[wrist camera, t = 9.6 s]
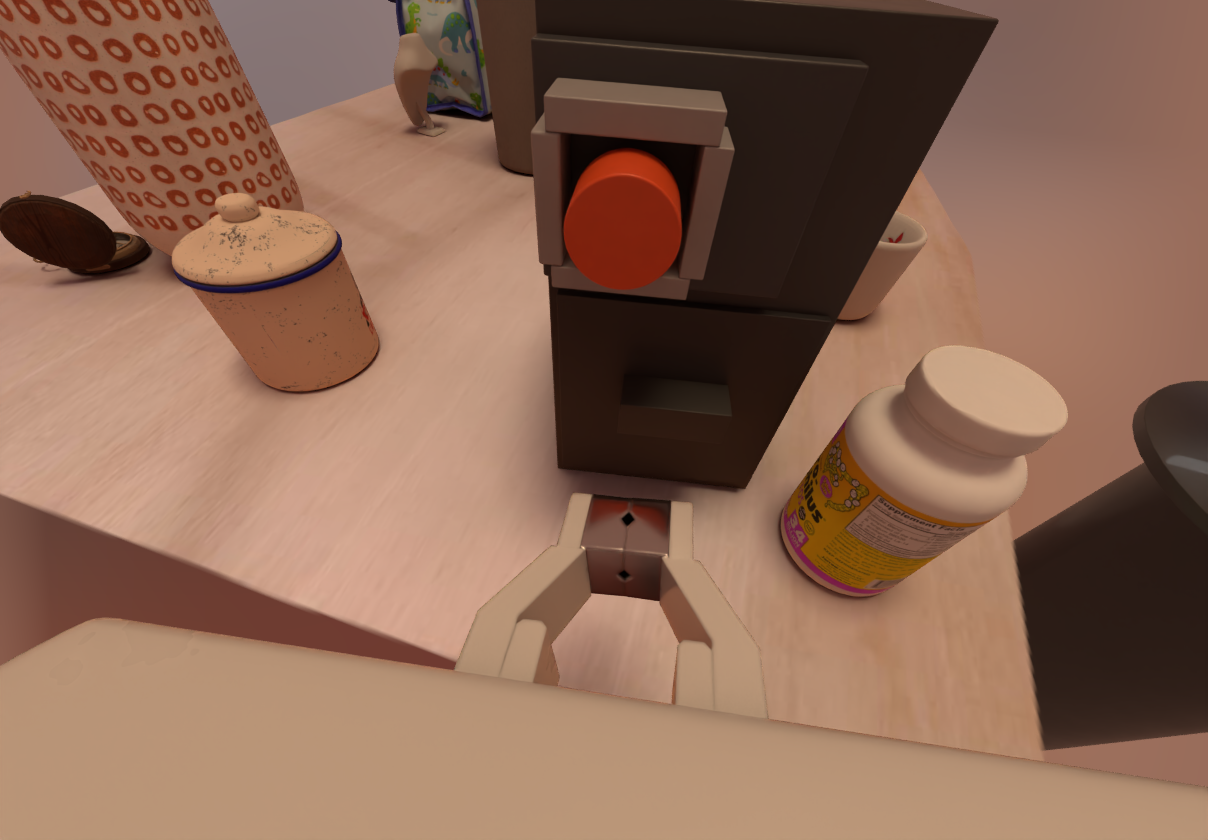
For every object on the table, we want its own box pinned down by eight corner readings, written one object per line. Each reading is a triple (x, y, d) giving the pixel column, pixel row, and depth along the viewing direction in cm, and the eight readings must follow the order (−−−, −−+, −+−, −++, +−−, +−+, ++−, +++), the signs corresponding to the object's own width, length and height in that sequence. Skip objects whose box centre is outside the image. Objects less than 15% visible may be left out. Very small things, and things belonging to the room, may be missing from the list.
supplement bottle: (791, 477, 28) (903, 308, 19) (900, 525, 26) (1088, 365, 17) (762, 562, 24) (885, 404, 15) (888, 626, 22) (1125, 493, 13)
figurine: (428, 123, 73) (408, 27, 64) (456, 128, 71) (439, 31, 63) (399, 135, 68) (372, 33, 59) (428, 141, 67) (405, 38, 58)
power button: (670, 262, 14) (690, 152, 12) (671, 296, 13) (693, 180, 10) (573, 252, 14) (573, 141, 12) (564, 285, 13) (561, 168, 11)
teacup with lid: (408, 343, 35) (353, 191, 26) (308, 414, 30) (197, 252, 21) (307, 297, 39) (229, 149, 30) (201, 353, 33) (68, 193, 24)
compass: (157, 238, 44) (97, 158, 38) (141, 277, 39) (71, 192, 34) (53, 251, 41) (-26, 167, 36) (24, 295, 37) (-72, 206, 31)
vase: (180, 229, 45) (-162, -272, 24) (322, 214, 49) (132, -230, 28) (148, 298, 37) (-408, -361, 16) (320, 274, 41) (51, -285, 20)
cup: (766, 270, 46) (795, 190, 40) (834, 266, 47) (871, 188, 41) (817, 333, 39) (862, 247, 33) (895, 326, 40) (951, 243, 34)
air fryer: (725, 348, 37) (848, -21, 20) (751, 529, 26) (1068, 36, 9) (585, 334, 37) (593, -41, 21) (549, 506, 26) (506, -9, 9)
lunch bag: (460, 84, 90) (428, -114, 71) (536, 93, 89) (525, -108, 69) (404, 112, 76) (344, -128, 56) (494, 123, 74) (465, -120, 54)
